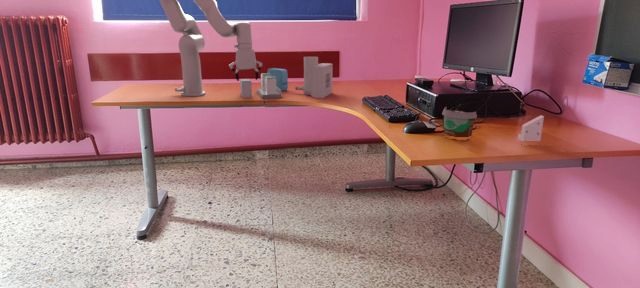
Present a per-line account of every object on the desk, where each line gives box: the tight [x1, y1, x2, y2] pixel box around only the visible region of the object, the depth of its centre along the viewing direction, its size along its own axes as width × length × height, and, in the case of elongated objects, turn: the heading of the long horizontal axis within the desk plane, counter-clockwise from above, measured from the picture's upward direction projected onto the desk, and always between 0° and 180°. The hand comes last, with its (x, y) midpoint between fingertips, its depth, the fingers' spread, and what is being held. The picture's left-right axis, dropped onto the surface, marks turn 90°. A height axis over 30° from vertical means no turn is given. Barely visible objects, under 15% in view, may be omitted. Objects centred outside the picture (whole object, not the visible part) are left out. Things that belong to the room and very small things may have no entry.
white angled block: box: [517, 114, 545, 142], centre depth 145 cm, size 4×10×9 cm
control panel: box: [295, 56, 334, 99], centre depth 234 cm, size 16×19×20 cm
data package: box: [267, 67, 289, 92], centre depth 250 cm, size 12×4×12 cm, turn 48°
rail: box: [256, 72, 282, 100], centre depth 233 cm, size 10×20×11 cm, turn 16°
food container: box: [441, 106, 478, 137], centre depth 151 cm, size 12×6×10 cm, turn 44°
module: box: [239, 78, 253, 99], centre depth 230 cm, size 5×8×8 cm, turn 16°
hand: (247, 80), depth 229 cm, fingers open, 9 cm apart
